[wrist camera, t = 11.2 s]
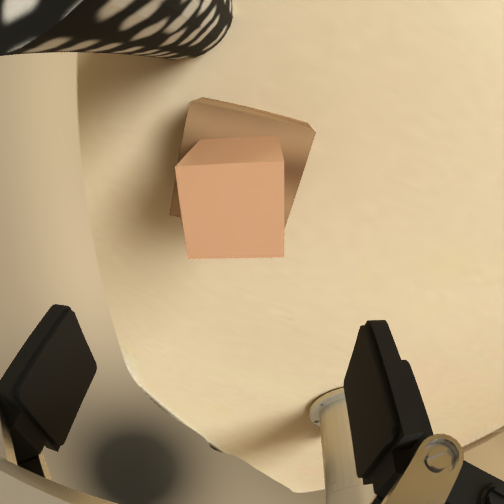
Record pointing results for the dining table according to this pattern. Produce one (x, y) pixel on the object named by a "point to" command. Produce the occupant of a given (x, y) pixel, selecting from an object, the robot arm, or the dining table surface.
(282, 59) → the dining table surface
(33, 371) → the robot arm
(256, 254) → the peach matte cube
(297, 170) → the walnut block
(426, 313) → the dining table surface
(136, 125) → the dining table surface
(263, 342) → the dining table surface
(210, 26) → the white-spotted black cylinder
